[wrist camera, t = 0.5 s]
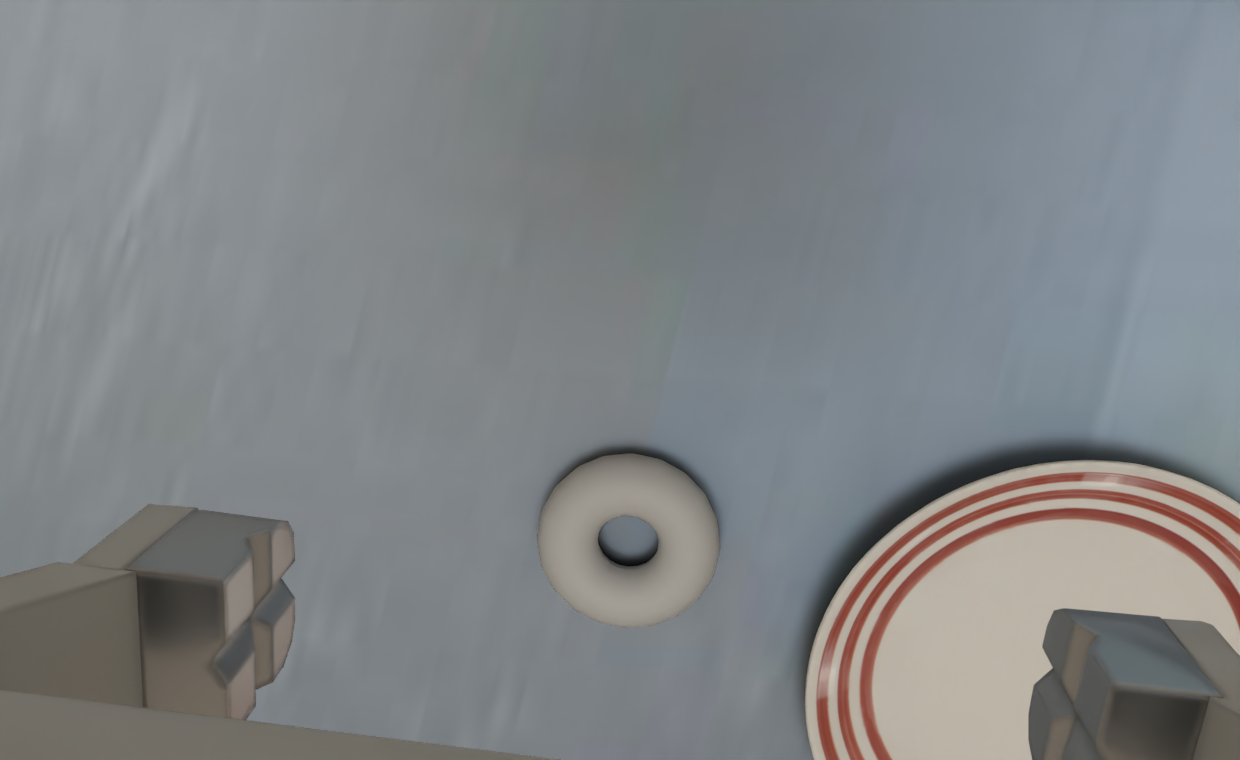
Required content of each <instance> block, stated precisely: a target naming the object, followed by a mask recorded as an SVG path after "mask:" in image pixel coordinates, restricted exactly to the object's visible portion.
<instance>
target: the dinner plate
mask: <svg viewBox="0 0 1240 760" xmlns="http://www.w3.org/2000/svg"><path fill="white" fill-rule="evenodd" d="M1063 608H1068V609H1079V610H1091V611H1102V612H1113V613H1124V614H1135V615H1146V616H1157V617H1160V618H1161V619H1177V620H1192V621H1203V622H1206V623H1209V624H1211V625H1213V626H1214V627H1215V628H1216V629H1217V630H1218V631H1219V633H1220V634H1221V635H1222V636H1223V637H1224V638H1225V640H1226V641H1227V642H1228V643H1229V644H1230V645H1231V646H1232V648H1233V649H1234V650H1235V651H1236V652H1237V653H1238V655H1239V656H1240V503H1238V502H1237V501H1235V500H1234V499H1232V498H1230V497H1229V496H1227V495H1225V494H1223V493H1222V492H1220V491H1218V490H1216V489H1214V488H1212V487H1209V486H1207V485H1205V484H1203V483H1200V482H1198V481H1196V480H1193V479H1191V478H1189V477H1186V476H1183V475H1180V474H1176V473H1173V472H1170V471H1166V470H1163V469H1159V468H1155V467H1151V466H1146V465H1141V464H1135V463H1128V462H1118V461H1106V460H1069V461H1057V462H1048V463H1040V464H1035V465H1030V466H1025V467H1020V468H1015V469H1012V470H1008V471H1004V472H1001V473H998V474H995V475H991V476H988V477H985V478H983V479H980V480H977V481H974V482H972V483H969V484H967V485H964V486H962V487H960V488H958V489H956V490H953V491H951V492H949V493H947V494H945V495H943V496H942V497H940V498H938V499H936V500H934V501H932V502H931V503H929V504H927V505H926V506H924V507H923V508H921V509H920V510H918V511H917V512H915V513H914V514H912V515H911V516H909V517H908V518H906V519H905V520H904V521H902V522H901V523H899V524H898V525H897V526H896V527H894V528H893V529H892V530H891V531H890V532H889V533H887V534H886V535H885V536H884V537H883V538H882V539H880V540H879V541H878V542H877V543H876V544H875V545H874V546H873V547H872V548H871V549H870V550H869V551H868V552H867V553H866V554H865V555H864V556H863V557H862V558H861V560H860V561H859V562H858V563H857V564H856V565H855V566H854V568H853V569H852V570H851V572H850V573H849V574H848V576H847V577H846V579H845V580H844V581H843V583H842V584H841V586H840V587H839V589H838V591H837V592H836V594H835V596H834V597H833V599H832V601H831V602H830V604H829V606H828V608H827V610H826V612H825V614H824V616H823V619H822V621H821V624H820V626H819V628H818V631H817V634H816V637H815V640H814V643H813V647H812V651H811V655H810V659H809V663H808V669H807V676H806V687H805V715H806V726H807V732H808V738H809V744H810V747H811V751H812V755H813V758H814V760H1032V756H1031V751H1030V746H1029V741H1028V713H1029V708H1030V702H1031V697H1032V692H1033V686H1034V684H1035V683H1036V682H1037V681H1039V680H1040V679H1041V678H1042V677H1043V676H1044V675H1045V674H1046V673H1048V672H1049V671H1050V670H1051V669H1052V668H1053V667H1052V665H1051V663H1050V661H1049V659H1048V657H1047V656H1046V654H1045V652H1044V650H1043V648H1042V645H1043V641H1044V636H1045V632H1046V628H1047V624H1048V622H1049V620H1050V618H1051V616H1052V614H1053V611H1054V610H1058V609H1063Z"/></svg>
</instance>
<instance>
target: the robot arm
mask: <svg viewBox="0 0 1240 760" xmlns="http://www.w3.org/2000/svg"><path fill="white" fill-rule="evenodd" d="M294 561H295V552H294V532H293V530H292V528H291V526H290V524H289V522H288V521H284V520H276V519H269V518H261V517H253V516H246V515H238V514H230V513H223V512H215V511H208V510H199V509H198V508H194V507H182V506H169V505H156V504H148V505H147V506H146V507H144V508H143V509H142V510H141V511H139V512H138V513H137V514H135V515H134V516H133V517H132V518H130V519H129V520H128V521H126V522H125V523H124V524H123V525H121V526H120V527H119V528H118V529H116V530H115V531H114V532H112V533H111V534H110V535H109V536H107V537H106V538H105V539H103V540H102V541H101V542H100V543H98V544H97V545H96V546H95V547H93V548H92V549H91V550H89V551H88V552H87V553H86V554H84V555H83V556H82V557H80V558H79V559H78V560H77V561H75V562H74V563H73V564H69V563H60V562H57V563H53V564H50V565H46V566H42V567H38V568H35V569H31V570H27V571H23V572H20V573H16V574H12V575H8V576H5V577H1V578H0V760H560V759H552V758H544V757H536V756H528V755H520V754H512V753H504V752H496V751H488V750H480V749H472V748H464V747H456V746H448V745H440V744H432V743H424V742H416V741H408V740H400V739H392V738H384V737H376V736H368V735H360V734H352V733H344V732H336V731H328V730H320V729H312V728H304V727H296V726H288V725H280V724H272V723H264V722H256V721H248V720H246V719H247V718H248V716H249V715H250V714H251V712H252V711H253V709H254V708H255V707H256V692H255V690H256V689H258V688H261V687H263V686H265V685H267V684H270V683H272V682H273V681H274V680H275V678H276V677H277V675H278V674H279V672H280V671H281V669H282V668H283V666H284V663H285V660H286V657H287V654H288V652H289V649H290V646H291V643H292V638H293V630H294V623H295V597H294V596H293V594H292V593H291V592H290V590H289V589H288V587H287V586H286V584H285V583H284V581H283V580H282V579H281V577H282V576H283V575H284V574H285V572H286V571H287V570H288V569H289V567H290V566H291V565H292V564H293V563H294ZM1042 648H1043V650H1044V652H1045V654H1046V656H1047V657H1048V659H1049V661H1050V663H1051V665H1052V667H1053V668H1052V669H1051V670H1050V671H1049V672H1048V673H1046V674H1045V675H1044V676H1043V677H1042V678H1041V679H1040V680H1039V681H1037V682H1036V683H1035V684H1034V686H1033V692H1032V697H1031V702H1030V708H1029V713H1028V741H1029V746H1030V751H1031V756H1032V760H1240V656H1239V655H1238V653H1237V652H1236V651H1235V650H1234V649H1233V648H1232V646H1231V645H1230V644H1229V643H1228V642H1227V641H1226V640H1225V638H1224V637H1223V636H1222V635H1221V634H1220V633H1219V631H1218V630H1217V629H1216V628H1215V627H1214V626H1213V625H1211V624H1209V623H1206V622H1203V621H1192V620H1177V619H1161V618H1160V617H1157V616H1146V615H1135V614H1124V613H1113V612H1102V611H1091V610H1079V609H1068V608H1063V609H1058V610H1054V611H1053V614H1052V616H1051V618H1050V620H1049V622H1048V624H1047V628H1046V632H1045V636H1044V641H1043V645H1042Z"/></svg>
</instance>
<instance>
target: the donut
mask: <svg viewBox="0 0 1240 760" xmlns="http://www.w3.org/2000/svg"><path fill="white" fill-rule="evenodd" d="M618 516H633V517H638V518H640V519H642V520H644V521H646V522H647V523H648V524H649V525H650V526H651V527H652V528H653V529H654V530H655V532H656V534H657V536H658V541H659V545H658V550H657V552H656V554H655V556H654V557H653V558H651V559H650V560H649V561H648V562H646V563H644V564H641V565H639V566H630V567H627V566H622V565H618V564H616V563H614V562H612V561H611V560H609V559H608V558H607V557H606V556H605V555H604V554H603V552H602V551H601V549H600V547H599V544H598V536H599V531H600V529H601V528H602V526H603V525H604V524H605V523H606V522H608V521H609V520H611V519H613V518H616V517H618ZM537 542H538V548H539V554H540V561H541V566H542V568H543V570H544V572H545V574H546V576H547V577H548V579H549V581H550V583H551V585H552V587H553V589H554V590H555V591H556V592H557V593H558V594H559V595H560V596H561V597H562V598H563V599H564V600H565V601H566V602H567V603H568V604H569V605H570V606H571V607H572V608H573V609H575V610H576V611H578V612H580V613H582V614H584V615H586V616H588V617H590V618H591V619H593V620H595V621H597V622H600V623H605V624H610V625H614V626H619V627H624V628H625V627H639V626H651V625H654V624H657V623H660V622H662V621H665V620H667V619H670V618H673V617H675V616H678V615H679V614H680V613H682V612H683V611H684V610H685V609H687V608H688V607H689V606H690V605H692V604H693V603H694V602H695V601H697V600H698V599H699V598H700V596H701V595H702V593H703V591H704V590H705V588H706V587H707V585H708V584H709V582H710V581H711V579H712V577H713V575H714V572H715V568H716V564H717V560H718V556H719V551H720V539H719V530H718V521H717V518H716V516H715V514H714V512H713V510H712V508H711V506H710V504H709V502H708V500H707V497H706V495H705V493H704V492H703V491H702V490H701V489H700V488H699V487H698V486H697V485H696V484H695V483H694V482H693V481H692V480H691V478H690V477H689V476H688V475H687V474H686V473H684V472H683V471H681V470H679V469H677V468H675V467H674V466H672V465H670V464H668V463H666V462H664V461H663V460H661V459H657V458H652V457H647V456H643V455H638V454H633V453H629V454H618V455H608V456H602V457H600V458H597V459H595V460H592V461H590V462H588V463H585V464H583V465H581V466H578V467H577V468H576V469H575V470H573V471H572V472H571V473H570V474H569V475H568V476H567V477H565V478H564V479H563V480H562V481H561V482H560V483H558V484H557V485H556V486H555V488H554V490H553V491H552V493H551V495H550V497H549V498H548V500H547V502H546V504H545V505H544V507H543V509H542V512H541V517H540V523H539V528H538V534H537Z"/></svg>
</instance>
